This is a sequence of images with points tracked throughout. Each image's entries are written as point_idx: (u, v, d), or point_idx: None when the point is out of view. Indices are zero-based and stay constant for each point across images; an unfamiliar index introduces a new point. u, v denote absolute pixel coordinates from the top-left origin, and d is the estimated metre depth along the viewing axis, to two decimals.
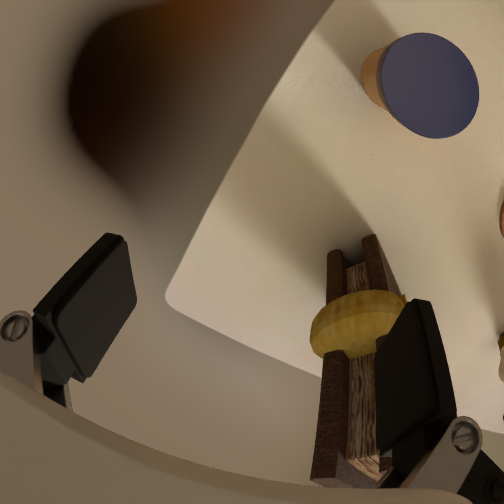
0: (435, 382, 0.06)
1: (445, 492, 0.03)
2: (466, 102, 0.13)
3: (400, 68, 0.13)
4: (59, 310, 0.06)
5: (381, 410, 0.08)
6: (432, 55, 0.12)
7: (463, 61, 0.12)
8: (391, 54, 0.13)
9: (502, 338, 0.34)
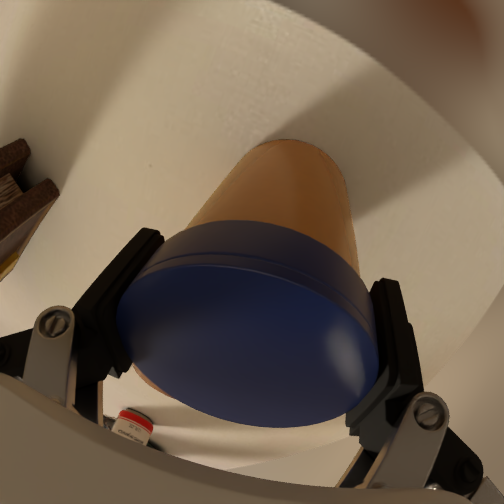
0: (397, 355, 0.06)
1: (445, 492, 0.03)
2: (228, 411, 0.09)
3: (262, 318, 0.06)
4: (104, 304, 0.07)
5: None
6: (317, 381, 0.07)
7: (314, 417, 0.08)
8: (306, 300, 0.05)
9: None
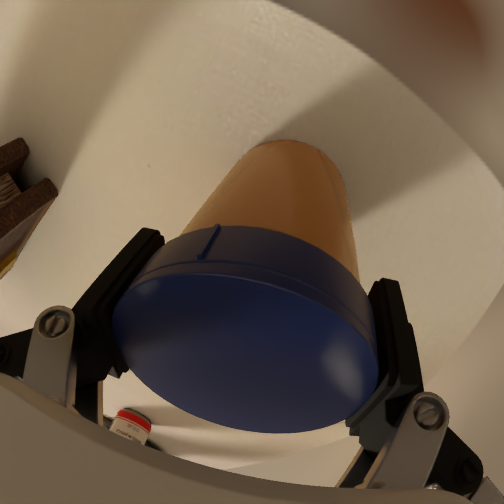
0: (396, 355, 0.06)
1: (444, 492, 0.03)
2: (340, 388, 0.06)
3: (153, 366, 0.08)
4: (104, 304, 0.07)
5: None
6: (194, 331, 0.06)
7: (297, 314, 0.05)
8: (122, 346, 0.07)
9: None
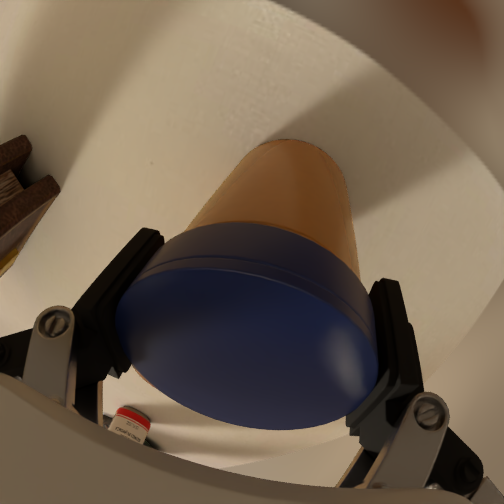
0: (397, 355, 0.06)
1: (445, 492, 0.03)
2: (181, 306, 0.06)
3: (267, 417, 0.08)
4: (103, 304, 0.07)
5: None
6: (191, 389, 0.08)
7: (131, 344, 0.08)
8: (257, 426, 0.09)
9: None
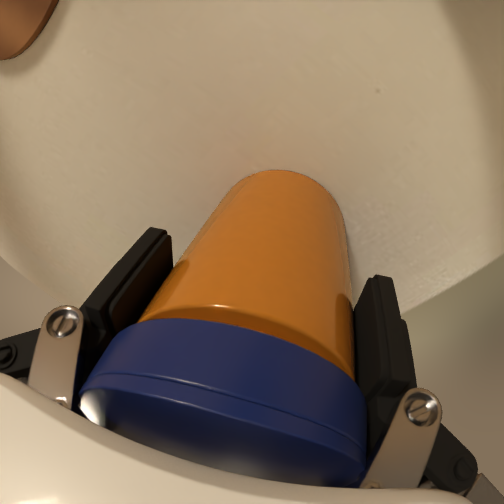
0: (389, 351, 0.06)
1: (445, 492, 0.03)
2: (140, 416, 0.05)
3: None
4: (112, 303, 0.07)
5: None
6: None
7: (100, 425, 0.06)
8: None
9: None
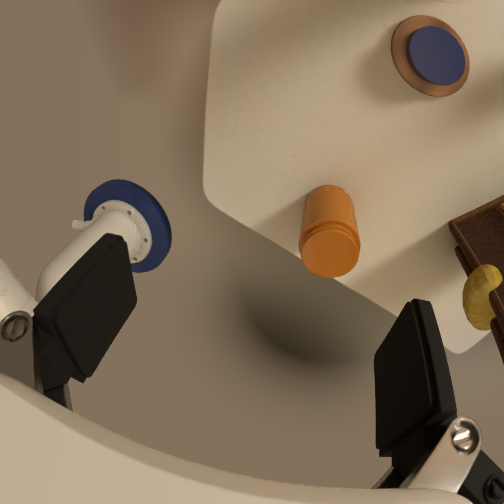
0: (435, 382, 0.06)
1: (445, 492, 0.03)
2: (422, 65, 0.23)
3: (453, 47, 0.20)
4: (59, 310, 0.06)
5: (381, 410, 0.08)
6: (452, 67, 0.22)
7: (442, 81, 0.23)
8: (461, 50, 0.20)
9: None
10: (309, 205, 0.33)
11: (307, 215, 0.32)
